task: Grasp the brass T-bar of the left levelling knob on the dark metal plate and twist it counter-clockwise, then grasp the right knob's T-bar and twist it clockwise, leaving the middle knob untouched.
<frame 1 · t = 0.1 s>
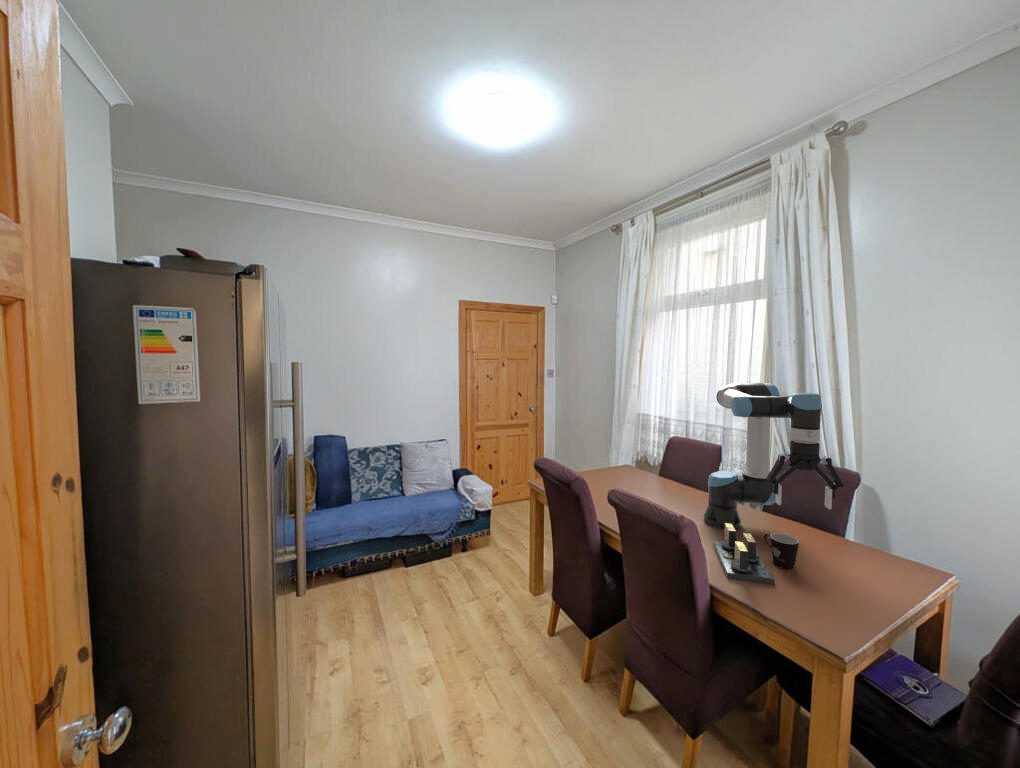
hand: (802, 505, 124), 28 cm above the table, fingers open, 13 cm apart
knob c: (741, 557, 134), point 6 cm above the table, hinge at 0.0°
knob a: (730, 537, 149), point 6 cm above the table, hinge at 0.0°
coffee mug: (781, 563, 141), on the table
levelling plate: (741, 563, 142), on the table
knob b: (749, 548, 140), point 6 cm above the table, hinge at 0.0°
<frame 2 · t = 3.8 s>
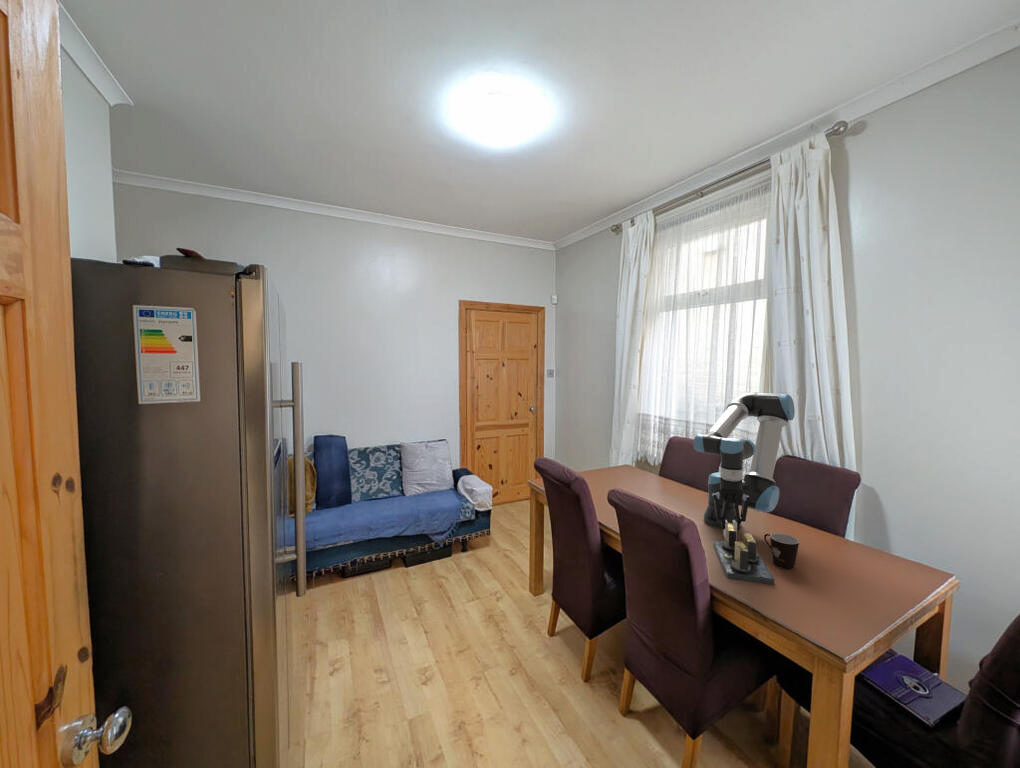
hand: (730, 537, 149), 6 cm above the table, fingers closed on knob a, 2 cm apart
knob a: (730, 537, 149), point 6 cm above the table, hinge at 0.3°, touching gripper
everything else where it was.
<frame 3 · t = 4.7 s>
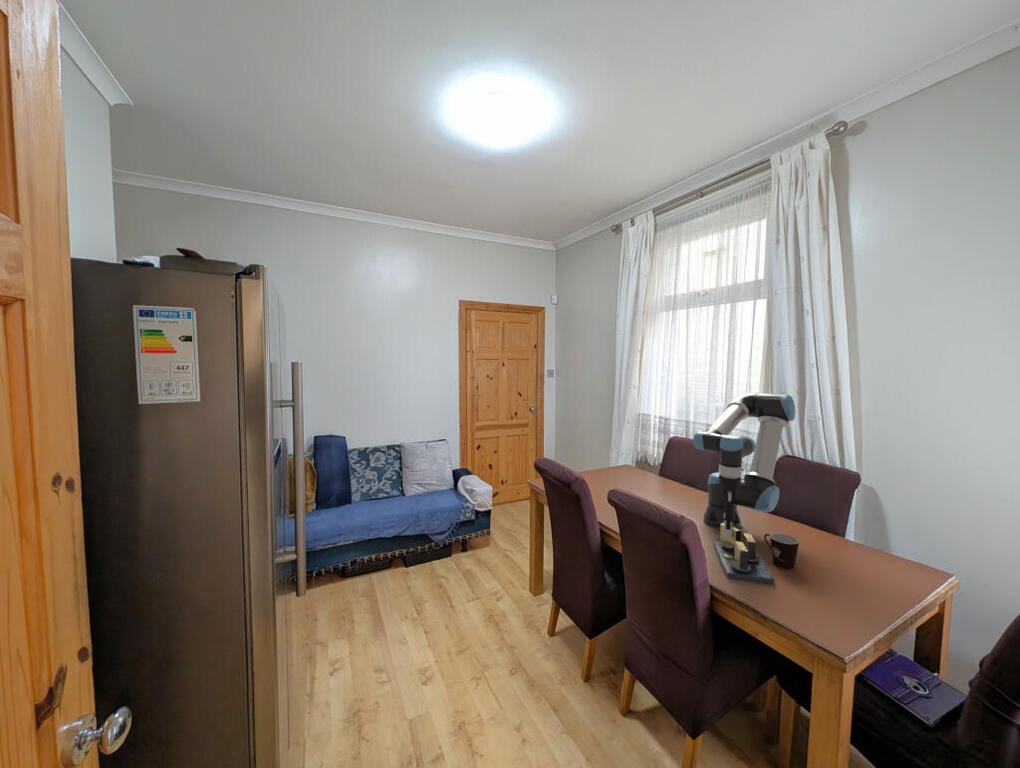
hand: (727, 532, 150), 7 cm above the table, fingers closed on knob a, 6 cm apart
knob a: (730, 537, 149), point 6 cm above the table, hinge at 34.4°, touching gripper
everything else where it was.
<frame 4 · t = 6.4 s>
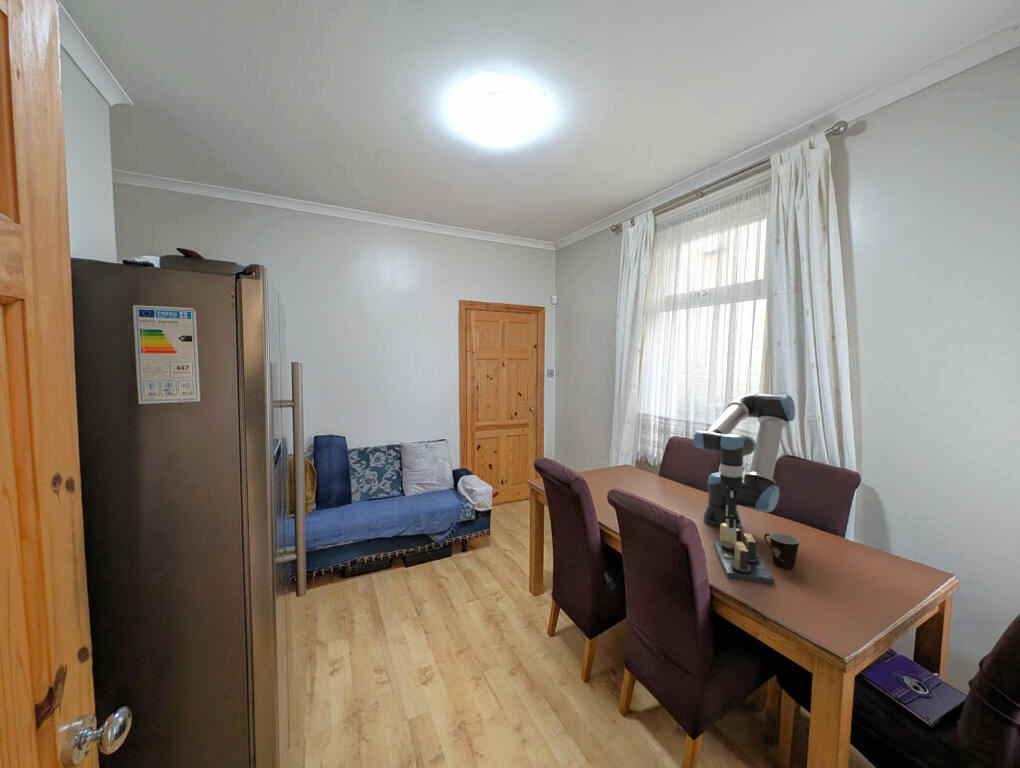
hand: (730, 528, 149), 10 cm above the table, fingers open, 13 cm apart
knob a: (730, 537, 149), point 6 cm above the table, hinge at 40.3°
everything else where it was.
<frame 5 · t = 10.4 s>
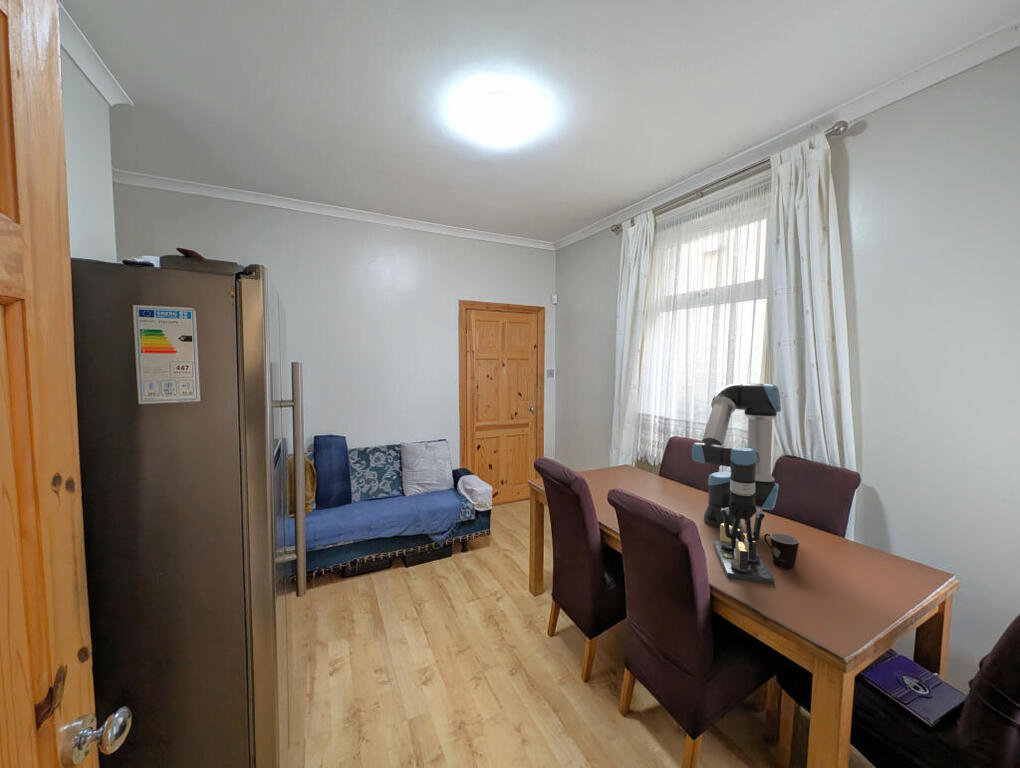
hand: (741, 557, 134), 6 cm above the table, fingers closed on knob c, 2 cm apart
knob c: (741, 557, 134), point 6 cm above the table, hinge at 0.0°, touching gripper
knob a: (730, 537, 149), point 6 cm above the table, hinge at 40.9°
everything else where it was.
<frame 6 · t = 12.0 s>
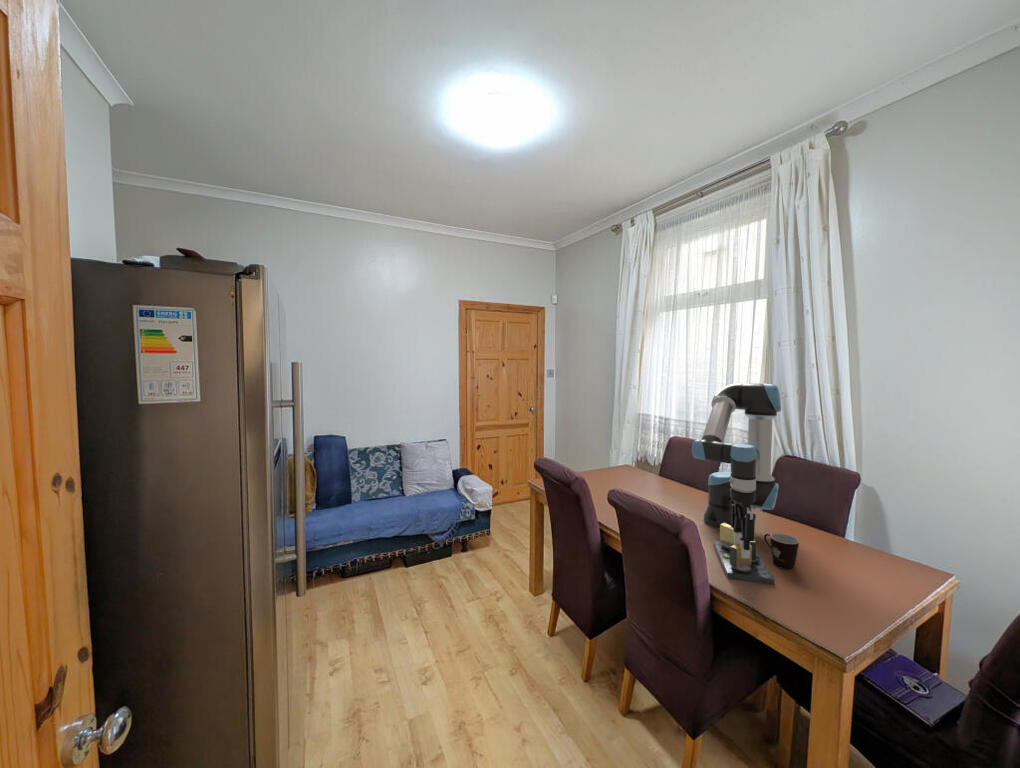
hand: (741, 553, 134), 7 cm above the table, fingers closed on knob c, 4 cm apart
knob c: (740, 557, 134), point 6 cm above the table, hinge at -53.7°, touching gripper
everything else where it was.
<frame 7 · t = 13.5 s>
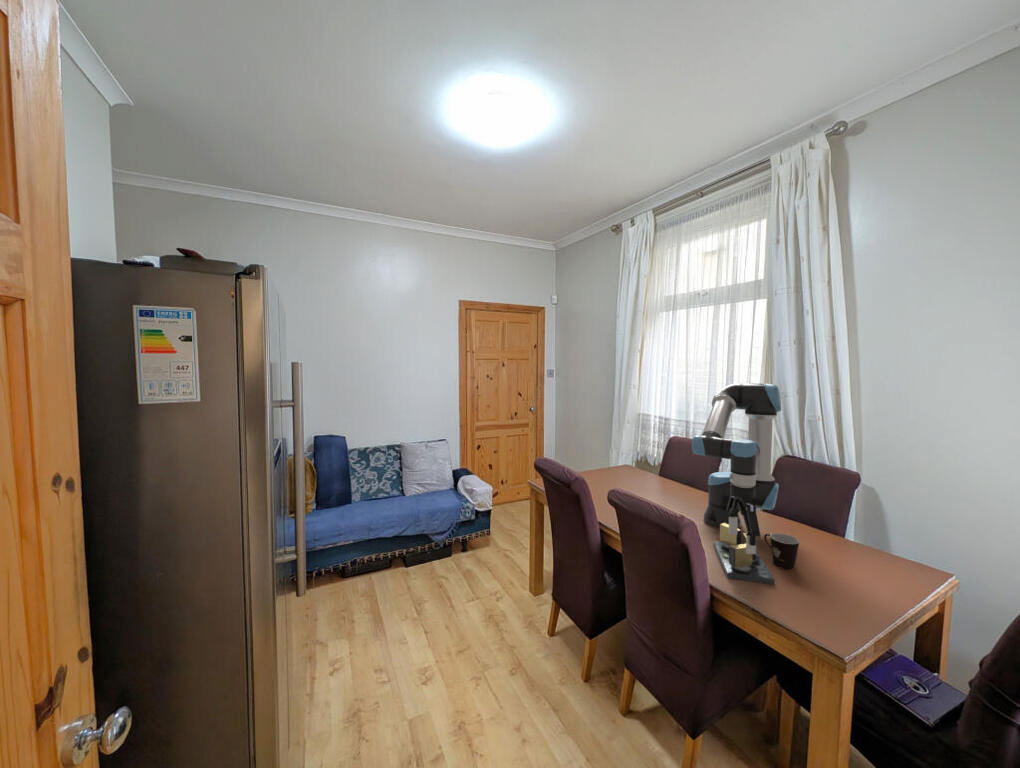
hand: (741, 543, 134), 11 cm above the table, fingers open, 13 cm apart
knob c: (740, 557, 134), point 6 cm above the table, hinge at -60.5°
everything else where it was.
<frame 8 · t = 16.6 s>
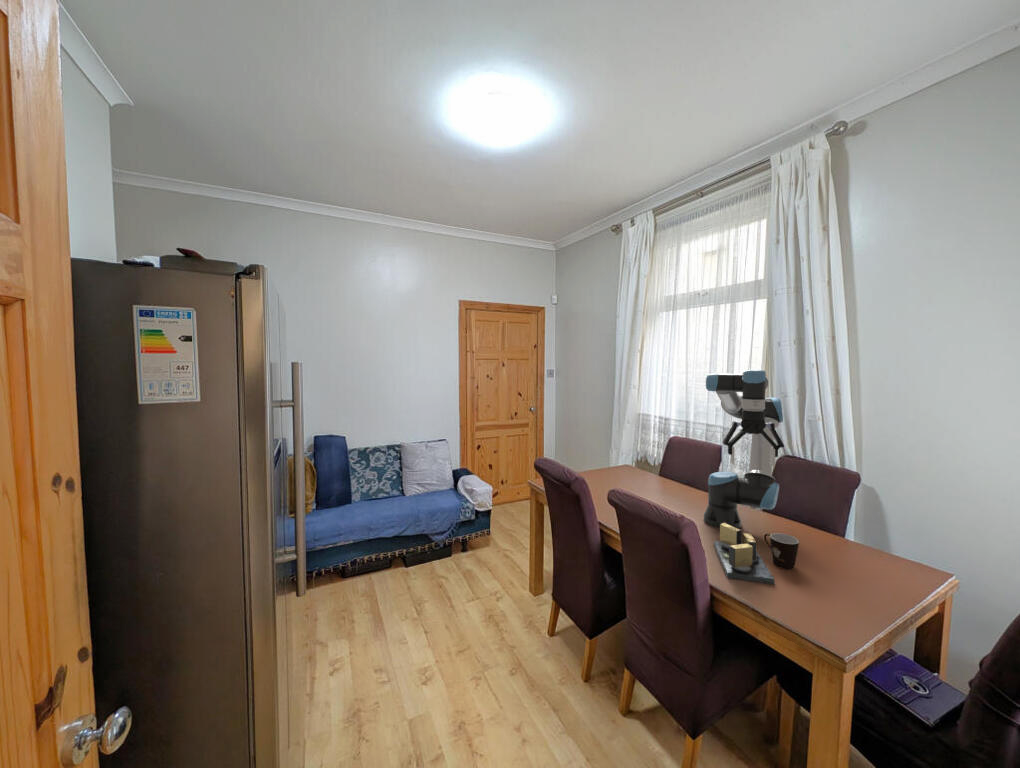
hand: (752, 463, 149), 35 cm above the table, fingers open, 13 cm apart
knob c: (740, 557, 134), point 6 cm above the table, hinge at -61.0°
everything else where it was.
at the end: knob a at +41° (first picture: +0°); knob c at -61° (first picture: +0°); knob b at +0° (first picture: +0°) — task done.
